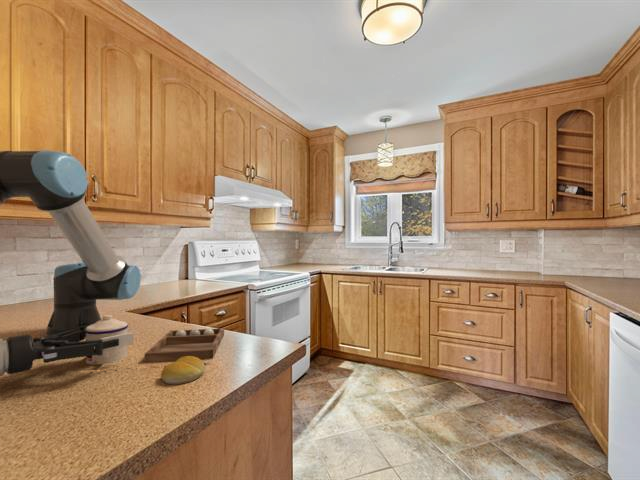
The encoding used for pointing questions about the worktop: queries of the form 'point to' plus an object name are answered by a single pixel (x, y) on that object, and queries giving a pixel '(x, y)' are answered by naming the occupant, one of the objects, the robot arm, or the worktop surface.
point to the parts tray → (185, 346)
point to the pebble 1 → (180, 333)
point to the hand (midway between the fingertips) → (123, 333)
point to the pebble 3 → (208, 332)
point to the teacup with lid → (104, 330)
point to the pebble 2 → (195, 332)
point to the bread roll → (183, 370)
